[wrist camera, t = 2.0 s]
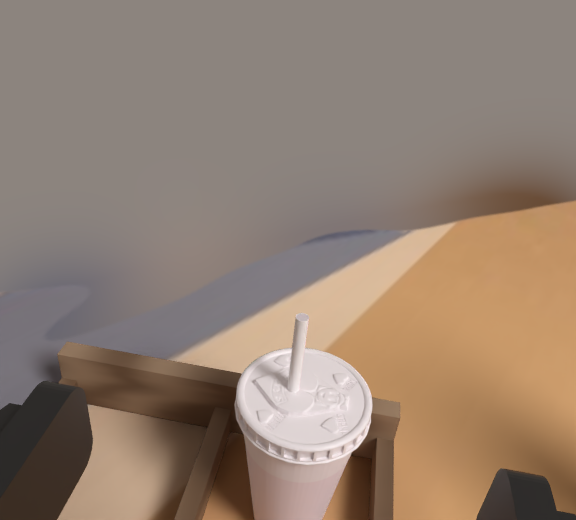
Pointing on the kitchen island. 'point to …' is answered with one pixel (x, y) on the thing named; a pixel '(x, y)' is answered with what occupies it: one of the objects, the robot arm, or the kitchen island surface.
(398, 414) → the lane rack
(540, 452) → the kitchen island surface
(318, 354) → the smoothie
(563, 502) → the kitchen island surface
